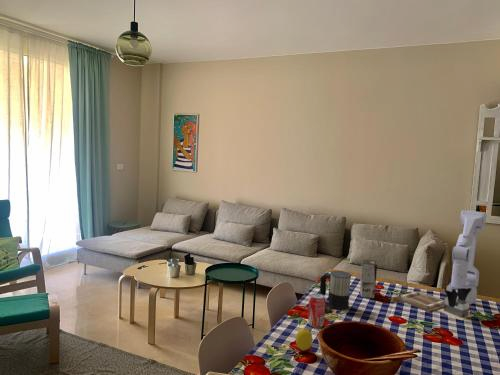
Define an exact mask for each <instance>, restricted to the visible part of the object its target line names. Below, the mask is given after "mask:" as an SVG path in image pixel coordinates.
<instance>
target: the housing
mask: <svg viewBox="0 0 500 375" xmlns="http://www.w3.org/2000/svg"><path fill="white" fill-rule="evenodd" d="M444 300H445V301H444V311H446V312H448V313H451V314H454V315H457V316H459V317H465V316H467V315H468V313H469V310H470V304H469V302H466V301H463V300H460V299H456V304H455V307H451V306H449V303H448V298H447V297H445V298H444Z"/></svg>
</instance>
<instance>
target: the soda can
mask: <svg viewBox="0 0 500 375" xmlns="http://www.w3.org/2000/svg"><path fill="white" fill-rule="evenodd" d="M308 301H309V302H308V315H307V323H308V325H309V327H311V328H314V329H319V328H320V329H321V328H322V327H323V326H324V325H325V317H326V316H325V315H326V311H325V304H326V303H327V302H326V301H327V298H326V295H325V296H324V295H322V294H320V293H317V292H316V293H315V292H314V293H311V294H310V296H309V300H308Z"/></svg>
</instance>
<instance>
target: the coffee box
mask: <svg viewBox="0 0 500 375" xmlns="http://www.w3.org/2000/svg"><path fill="white" fill-rule="evenodd" d="M377 270H378V264H377V262H376V260H374V259H373V260H371V259H370V260H369V259H361V272H360V287H359V292H360V296H361V297H362V298H369V299H375V295H376V284H377V283H376V282H377V272H378V271H377Z"/></svg>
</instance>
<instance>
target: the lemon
mask: <svg viewBox="0 0 500 375" xmlns="http://www.w3.org/2000/svg"><path fill="white" fill-rule="evenodd" d="M295 343H296V346H297V347H298V349H300V350H301V351H302V352H305V351H307V350H308V349H310V348H311V346H312V345H313V335H312V332H311V331H310V330H309V329H308V328H306V327H303V328H300V329H299V330H298V331H297V332H296V336H295Z"/></svg>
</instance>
